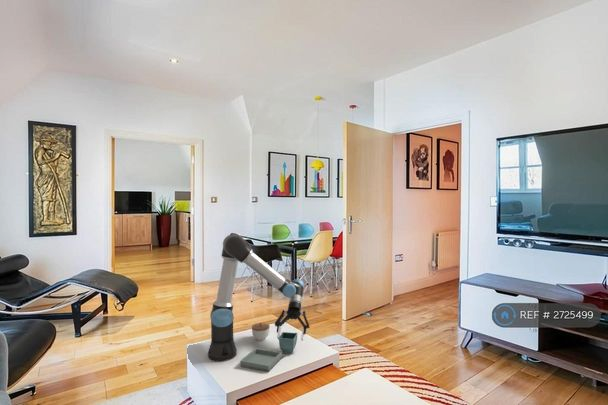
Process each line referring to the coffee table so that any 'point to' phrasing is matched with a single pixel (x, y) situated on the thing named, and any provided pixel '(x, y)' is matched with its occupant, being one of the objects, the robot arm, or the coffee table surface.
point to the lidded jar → (260, 331)
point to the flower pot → (287, 342)
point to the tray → (261, 359)
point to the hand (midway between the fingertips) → (290, 339)
